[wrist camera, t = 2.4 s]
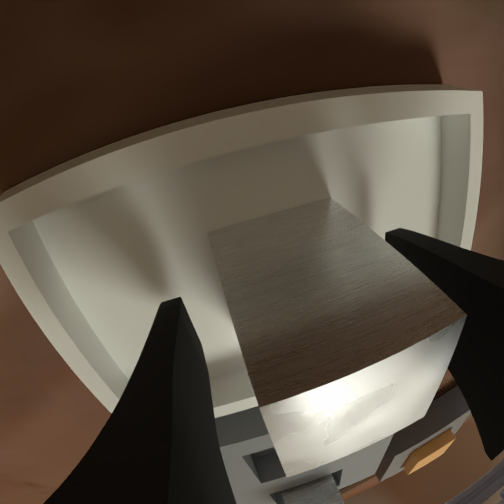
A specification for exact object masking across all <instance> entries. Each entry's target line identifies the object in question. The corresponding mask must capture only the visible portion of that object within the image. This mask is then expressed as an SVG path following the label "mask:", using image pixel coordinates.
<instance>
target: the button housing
mask: <svg viewBox="0 0 504 504" xmlns="http://www.w3.org/2000/svg"><path fill="white" fill-rule="evenodd" d="M470 413H471V411H470V409H469V407H468V404H467V402H466V400H465V398H464V396H463V394H462V392H461V390H460V389H459V387H458V385H457V386H456V387H454V388H453V389H451V390H449V391H448V392H446V393H445V394H443V395H442V396H440V397H438V398H437V399H435V400H433V401H432V402H431V404H430V406H429V408H428V410H427V412H426V414H425V416H424V417H423V418H421V419H419V420H417V421H416V422H414V423H412V424H410V425H409V426H407V427H405V428H403V429H401V430H399V431H397V432H396V433H394V435H393V437H392V439H391V441H390V444H389V446H388V448H387V450H386V452H385V454H384V456H383V458H382V460H381V462H380V464H379V466H378V468H377V470H376V472H375V474H376V476H377V478H378V480H379V482H381V481H383V480H385V479H387V478H389V477H391V476H393V475H394V474H396V473H398V472H400V471H402V470H404V467H403V466H402V465H403V463H404V462H405V460H406V459H407V457H408V456H409V454H410V453H411V452H413V451H414V450H416V449H418V448H420V447H421V446H423V445H425V444H426V443H428V442H430V441H431V440H433V439H434V438H436V437H438V436H439V435H441V434H442V433H444V432H445V431H447V430H448V429H450V430H451V431H452V433H453V434H455V433H456V432H457V430H458V429H459V428H460V426H461V425H462V424H463V422H464V421H465V420H466V418H467V417H468V415H469V414H470Z"/></svg>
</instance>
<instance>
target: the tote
mask: <svg viewBox="0 0 504 504" xmlns="http://www.w3.org/2000/svg"><path fill="white" fill-rule="evenodd" d="M482 153H483V93H482V91H479V90H474V89H469V88H463V87H458V86H452V85H445V84H412V85H388V86H372V87H360V88H349V89H340V90H331V91H323V92H315V93H308V94H302V95H295V96H289V97H283V98H277V99H272V100H267V101H261V102H256V103H252V104H247V105H242V106H238V107H233V108H229V109H224V110H220V111H216V112H212V113H208V114H204V115H200V116H197V117H193V118H189V119H186V120H182V121H179V122H175V123H172V124H168V125H165V126H162V127H159V128H155V129H152V130H149V131H146V132H143V133H140V134H137V135H134V136H131V137H128V138H125V139H123V140H120V141H117V142H114V143H112V144H109V145H106V146H104V147H101V148H98V149H96V150H93V151H91V152H88V153H86V154H83V155H81V156H78V157H76V158H74V159H71V160H69V161H67V162H64V163H62V164H60V165H58V166H55V167H53V168H51V169H49V170H47V171H44V172H42V173H40V174H38V175H36V176H34V177H32V178H30V179H28V180H26V181H24V182H22V183H20V184H18V185H16V186H14V187H12V188H10V189H8V190H6V191H5V192H4V193H3V194H1V195H0V264H1V266H2V268H3V270H4V271H5V273H6V275H7V277H8V278H9V280H10V282H11V284H12V285H13V287H14V289H15V290H16V292H17V294H18V295H19V297H20V298H21V300H22V301H23V303H24V305H25V306H26V308H27V309H28V311H29V312H30V314H31V315H32V317H33V318H34V320H35V321H36V323H37V324H38V325H39V327H40V328H41V330H42V331H43V332H44V334H45V335H46V337H47V338H48V339H49V341H50V342H51V343H52V345H53V346H54V347H55V349H56V350H57V351H58V353H59V354H60V355H61V356H62V358H63V359H64V360H65V361H66V363H67V364H68V365H69V366H70V368H71V369H72V370H73V371H74V372H75V374H76V375H77V376H78V377H79V378H80V380H81V381H82V382H83V383H84V384H85V385H86V386H87V388H88V389H89V390H90V391H91V392H92V393H93V394H94V395H95V396H96V398H97V399H98V400H99V401H100V402H101V403H102V404H103V405H104V406H105V407H106V408H107V409H108V410H109V411H110V412H111V413H112V412H113V410H114V409H115V407H116V405H117V403H118V401H119V399H120V398H121V396H122V394H123V392H124V390H125V388H126V386H127V383H128V381H129V379H130V377H131V375H132V373H133V370H134V368H135V366H136V364H137V362H138V359H139V357H140V354H141V352H142V349H143V347H144V345H145V342H146V340H147V337H148V334H149V332H150V329H151V327H152V324H153V321H154V319H155V316H156V313H157V310H158V308H159V305H160V304H161V302H164V301H167V300H171V299H174V298H177V297H181V298H182V300H183V303H184V305H185V307H186V310H187V312H188V314H189V317H190V319H191V321H192V323H193V326H194V328H195V330H196V332H197V335H198V337H199V339H200V341H201V344H202V347H203V351H204V356H205V360H206V364H207V368H208V372H209V379H210V387H211V394H212V402H213V409H214V416H215V418H217V417H221V416H225V415H228V414H232V413H236V412H239V411H243V410H246V409H250V408H253V407H256V406H258V403H257V400H256V397H255V393H254V390H253V387H252V384H251V381H250V378H249V375H248V371H247V368H246V365H245V362H244V358H243V355H242V352H241V349H240V345H239V342H238V339H237V335H236V332H235V329H234V325H233V322H232V319H231V315H230V312H229V309H228V305H227V302H226V298H225V295H224V291H223V288H222V284H221V281H220V277H219V274H218V270H217V267H216V263H215V259H214V256H213V252H212V248H211V245H210V241H209V237H208V234H207V232H210V231H213V230H217V229H220V228H223V227H227V226H230V225H234V224H237V223H241V222H244V221H247V220H251V219H254V218H258V217H261V216H265V215H269V214H272V213H276V212H279V211H283V210H286V209H290V208H294V207H297V206H301V205H305V204H308V203H312V202H316V201H319V200H323V199H327V198H332V199H334V200H335V201H336V202H338V203H339V204H340V205H341V206H343V207H344V208H345V209H347V210H348V211H349V212H350V213H352V214H353V215H354V216H356V217H357V218H358V219H359V220H361V221H362V222H363V223H364V224H366V225H367V226H368V227H369V228H370V229H372V230H373V231H374V232H375V233H377V234H378V235H379V236H380V237H381V238H383V239H384V240H385V232H388V231H391V230H394V229H397V228H403V229H407V230H411V231H415V232H418V233H421V234H424V235H427V236H430V237H433V238H436V239H439V240H441V241H444V242H447V243H450V244H453V245H456V246H458V247H461V248H464V249H467V250H470V251H471V246H472V240H473V235H474V229H475V222H476V216H477V208H478V201H479V192H480V182H481V170H482Z"/></svg>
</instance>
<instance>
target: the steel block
mask: <svg viewBox="0 0 504 504" xmlns="http://www.w3.org/2000/svg"><path fill="white" fill-rule="evenodd" d="M207 234H208V237H209V241H210V245H211V248H212V252H213V256H214V259H215V263H216V267H217V270H218V274H219V277H220V281H221V284H222V288H223V291H224V295H225V298H226V302H227V305H228V309H229V312H230V315H231V319H232V322H233V325H234V329H235V332H236V335H237V339H238V342H239V345H240V349H241V352H242V355H243V358H244V362H245V365H246V368H247V371H248V375H249V378H250V381H251V384H252V387H253V390H254V393H255V397H256V400H257V403H258V406H259V409H260V411H261V414H262V417H263V419H264V422H265V424H266V427H267V429H268V432H269V435H270V437H271V440H272V442H273V445H274V447H275V450H276V452H277V455H278V457H279V460H280V462H281V464H282V467H283V469H284V472H285V474H286V477H291V476H294V475H297V474H300V473H303V472H305V471H308V470H311V469H314V468H317V467H319V466H322V465H325V464H327V463H330V462H332V461H335V460H337V459H340V458H342V457H345V456H347V455H349V454H352V453H354V452H356V451H358V450H361V449H363V448H365V447H367V446H369V445H371V444H374V443H376V442H378V441H380V440H382V439H384V438H386V437H388V436H390V435H392V434H394V433H396V432H397V431H399V430H401V429H403V428H405V427H407V426H409V425H410V424H412V423H414V422H416V421H417V420H419V419H421V418H423V417H424V416H425V414H426V412H427V410H428V408H429V406H430V404H431V402H432V400H433V398H434V396H435V394H436V392H437V390H438V388H439V386H440V383H441V381H442V379H443V377H444V374H445V372H446V370H447V367H448V365H449V363H450V360H451V358H452V355H453V353H454V350H455V348H456V345H457V342H458V340H459V337H460V334H461V331H462V329H463V326H464V323H465V320H466V317H467V314H466V313H465V312H464V311H463V310H462V309H460V308H459V307H458V306H457V305H456V304H455V303H454V302H453V301H452V300H451V299H450V298H449V297H448V296H447V295H446V294H445V293H444V292H443V291H442V290H441V289H439V288H438V287H437V286H436V285H435V284H434V283H433V282H432V281H431V280H430V279H429V278H427V277H426V276H425V275H424V274H423V273H422V272H421V271H420V270H419V269H417V268H416V267H415V266H414V265H413V264H412V263H411V262H410V261H408V260H407V259H406V258H405V257H404V256H403V255H401V254H400V253H399V252H398V251H397V250H396V249H394V248H393V247H392V246H391V245H390V244H389V243H387V242H386V241H385V240H384V239H383V238H381V237H380V236H379V235H378V234H377V233H375V232H374V231H373V230H372V229H370V228H369V227H368V226H367V225H366V224H364V223H363V222H362V221H361V220H359V219H358V218H357V217H356V216H354V215H353V214H352V213H350V212H349V211H348V210H347V209H345V208H344V207H343V206H341V205H340V204H339V203H338V202H336V201H335V200H334V199H332V198H327V199H323V200H319V201H316V202H312V203H308V204H305V205H301V206H297V207H294V208H290V209H286V210H283V211H279V212H276V213H272V214H269V215H265V216H261V217H258V218H254V219H251V220H247V221H244V222H241V223H237V224H234V225H230V226H227V227H223V228H220V229H217V230H213V231H210V232H207Z"/></svg>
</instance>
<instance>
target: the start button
mask: <svg viewBox="0 0 504 504" xmlns="http://www.w3.org/2000/svg"><path fill="white" fill-rule="evenodd" d="M454 440H455V436H454V434H453V433H452V431H451V430H450V429H448V430H447V431H445V432H444V433H442V434H441V435H439V436H438V437H436V438H434V439H433V440H431V441H430V442H428V443H426V444H425V445H423V446H421V447H420V448H418V449H416V450H414V451H413V452H411V453H410V454H409V456H408V457H407V459H406V460H405V462H404V463H403V465H402V466H403V467H404V469H405V471H406V473H407V474H410V473H412V472H414V471H416V470H417V469H419V468H421V467H422V466H424V465H426V464H427V463H429V462H431V461H432V460H434V459H435V458H437V457H439V456H440V455H442V454H443V453H444V452H445V451H446V449H447V448H448V447H449V446H450V445H451V443H452V442H453V441H454Z"/></svg>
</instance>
